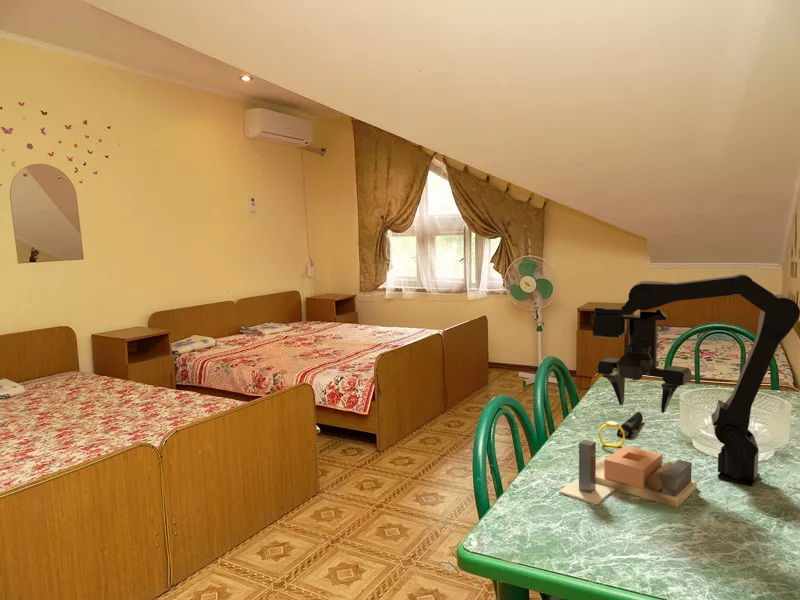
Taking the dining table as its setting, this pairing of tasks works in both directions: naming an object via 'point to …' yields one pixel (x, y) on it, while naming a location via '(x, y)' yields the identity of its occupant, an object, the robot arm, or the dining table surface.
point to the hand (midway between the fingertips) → (641, 408)
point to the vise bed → (642, 491)
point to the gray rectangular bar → (587, 466)
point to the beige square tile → (592, 497)
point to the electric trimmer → (630, 425)
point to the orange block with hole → (632, 466)
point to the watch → (612, 424)
